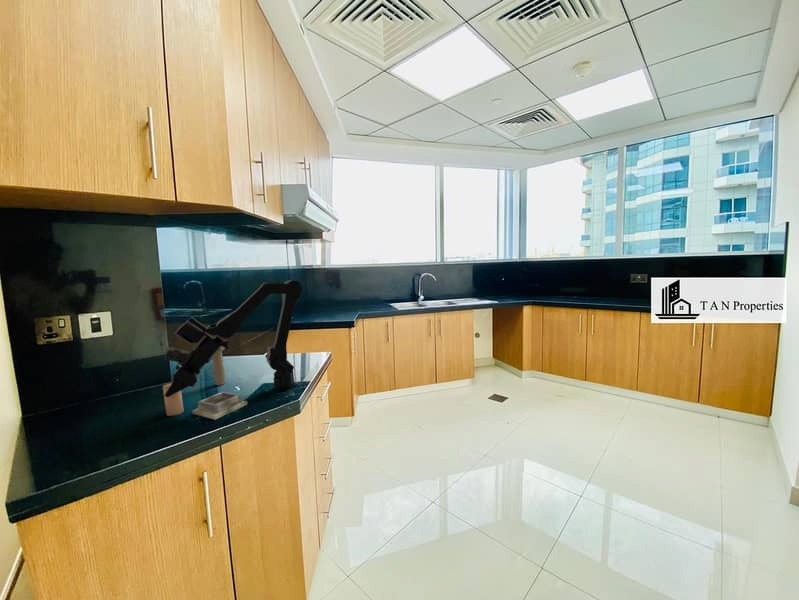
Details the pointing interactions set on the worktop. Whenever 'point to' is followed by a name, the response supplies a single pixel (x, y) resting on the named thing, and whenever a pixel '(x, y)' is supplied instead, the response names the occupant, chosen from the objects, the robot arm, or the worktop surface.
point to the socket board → (219, 405)
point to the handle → (218, 367)
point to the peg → (173, 402)
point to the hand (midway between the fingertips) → (167, 393)
